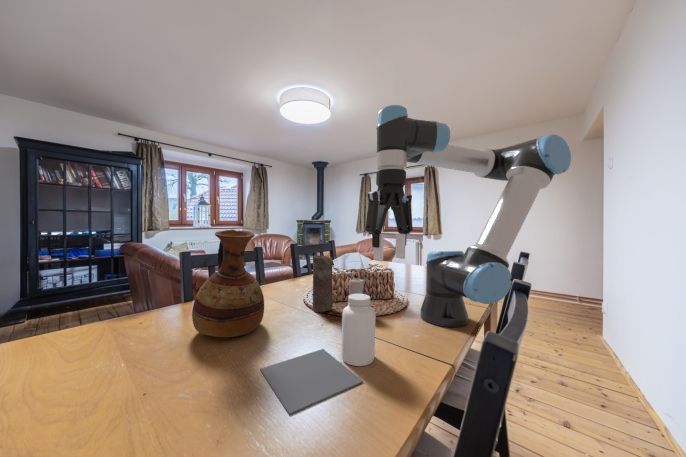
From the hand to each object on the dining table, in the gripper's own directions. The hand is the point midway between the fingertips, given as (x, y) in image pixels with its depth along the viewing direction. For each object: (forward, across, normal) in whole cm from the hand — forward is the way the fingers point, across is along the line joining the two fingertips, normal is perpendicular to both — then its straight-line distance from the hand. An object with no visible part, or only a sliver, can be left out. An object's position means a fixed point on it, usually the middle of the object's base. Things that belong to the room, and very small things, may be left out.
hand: (389, 259), depth 68 cm
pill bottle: (+23, +10, 0) cm, 25 cm away
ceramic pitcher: (+23, +32, -34) cm, 52 cm away
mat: (+23, +23, 0) cm, 33 cm away
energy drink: (+23, -8, -24) cm, 34 cm away
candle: (+23, 0, -34) cm, 41 cm away
